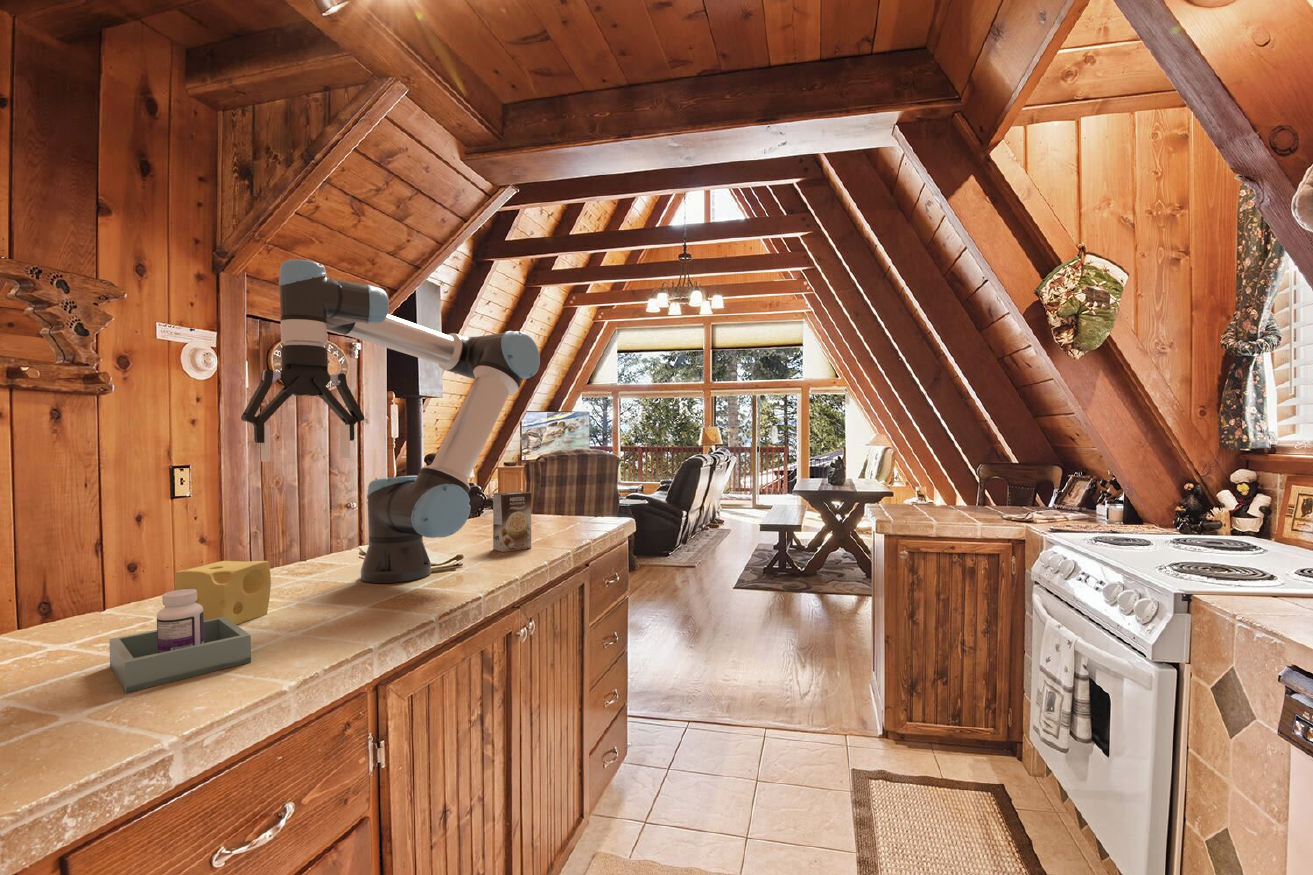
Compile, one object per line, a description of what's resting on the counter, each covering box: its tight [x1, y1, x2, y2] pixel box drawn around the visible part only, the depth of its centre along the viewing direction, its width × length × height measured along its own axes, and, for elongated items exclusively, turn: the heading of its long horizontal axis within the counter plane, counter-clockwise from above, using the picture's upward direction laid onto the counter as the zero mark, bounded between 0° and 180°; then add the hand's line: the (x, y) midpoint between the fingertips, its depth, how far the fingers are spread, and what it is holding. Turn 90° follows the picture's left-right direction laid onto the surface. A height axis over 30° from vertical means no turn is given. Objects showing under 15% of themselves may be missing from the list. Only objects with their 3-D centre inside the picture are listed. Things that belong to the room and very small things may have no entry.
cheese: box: [174, 560, 272, 626], centre depth 111 cm, size 10×11×10 cm
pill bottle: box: [156, 589, 204, 653], centre depth 90 cm, size 5×5×10 cm
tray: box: [108, 617, 252, 694], centre depth 90 cm, size 14×14×4 cm
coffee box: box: [492, 491, 532, 553], centre depth 176 cm, size 9×6×16 cm
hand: (307, 460), depth 115 cm, fingers open, 13 cm apart
